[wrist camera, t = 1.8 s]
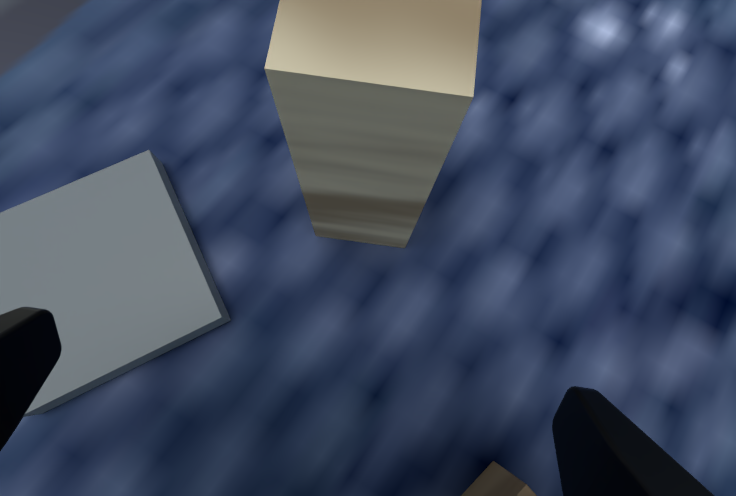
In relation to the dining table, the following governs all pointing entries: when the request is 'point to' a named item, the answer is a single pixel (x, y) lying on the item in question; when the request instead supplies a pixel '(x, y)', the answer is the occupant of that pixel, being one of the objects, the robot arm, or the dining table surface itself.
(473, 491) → the walnut cube
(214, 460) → the dining table surface
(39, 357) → the robot arm
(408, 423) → the dining table surface
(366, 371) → the dining table surface
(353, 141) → the beech pillar
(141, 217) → the slate plinth
